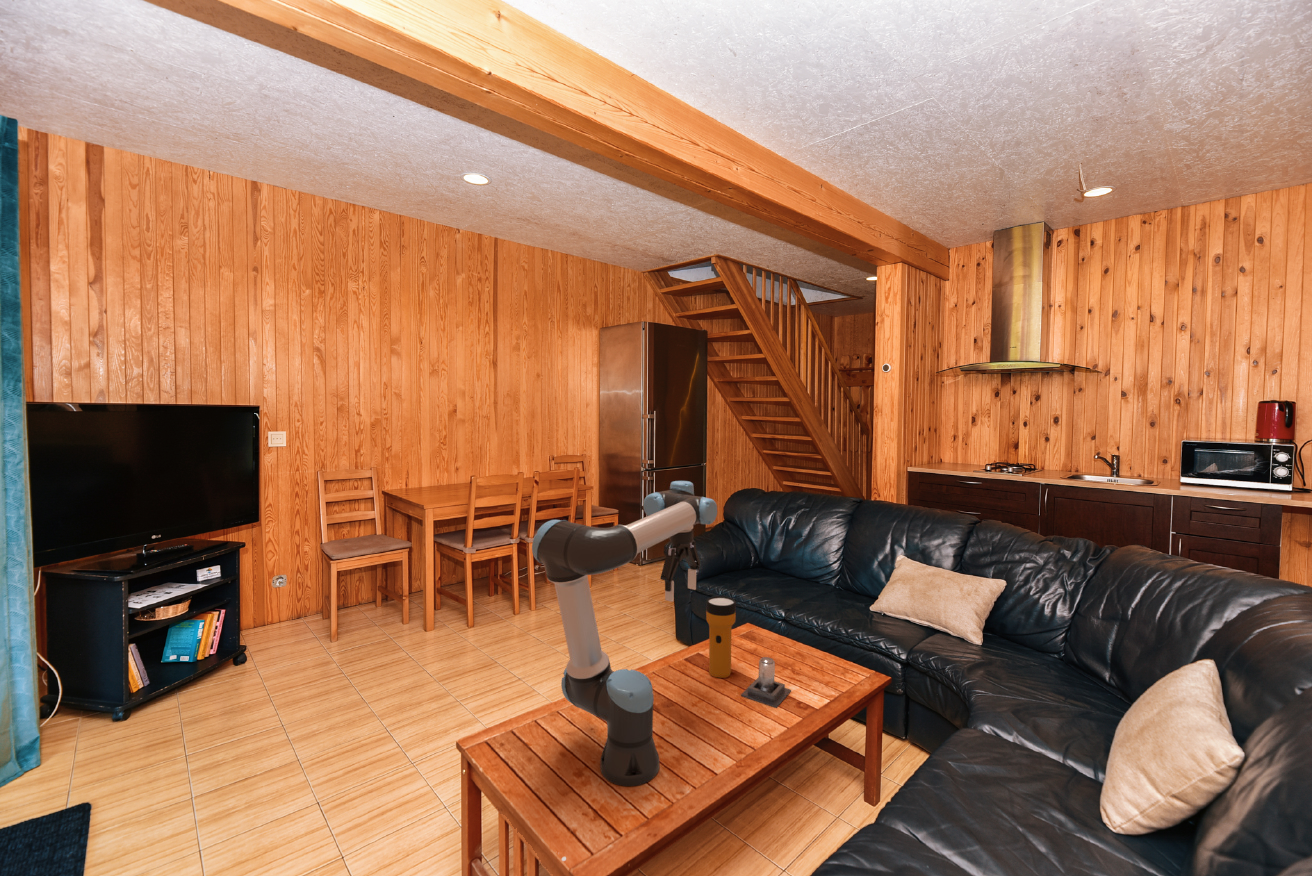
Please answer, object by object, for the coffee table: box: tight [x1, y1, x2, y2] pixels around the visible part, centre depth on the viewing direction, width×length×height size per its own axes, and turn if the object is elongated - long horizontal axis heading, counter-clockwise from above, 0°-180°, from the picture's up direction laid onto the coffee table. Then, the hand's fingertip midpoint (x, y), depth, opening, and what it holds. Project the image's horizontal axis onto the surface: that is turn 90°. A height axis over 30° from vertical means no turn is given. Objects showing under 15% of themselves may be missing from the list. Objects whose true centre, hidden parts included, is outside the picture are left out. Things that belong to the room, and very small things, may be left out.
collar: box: [740, 676, 792, 709], centre depth 181 cm, size 12×12×3 cm
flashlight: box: [705, 595, 737, 679], centre depth 194 cm, size 10×26×10 cm
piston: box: [758, 656, 776, 693], centre depth 181 cm, size 5×5×11 cm
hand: (680, 594), depth 181 cm, fingers open, 13 cm apart
